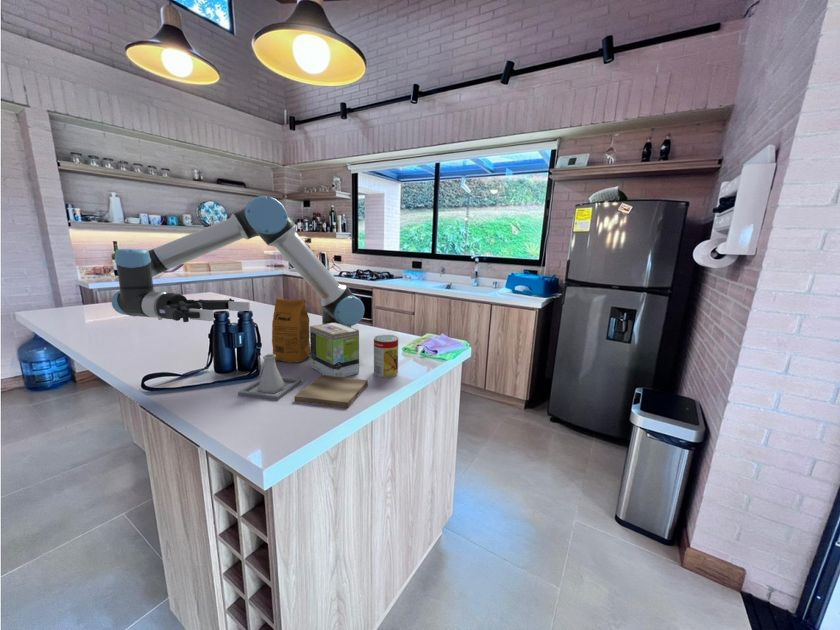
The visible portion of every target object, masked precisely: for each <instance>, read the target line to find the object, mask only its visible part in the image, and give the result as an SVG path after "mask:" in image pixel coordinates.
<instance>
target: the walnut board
mask: <svg viewBox="0 0 840 630" xmlns="http://www.w3.org/2000/svg"><path fill="white" fill-rule="evenodd" d="M368 384H369V380H368V379H359V378H351V377H334V376H326V375H324V374H322V375H321V374H320V375H319V376H318V377H317V378H316V379H314V380H313V381H312V382H311V383H310V384H308V385H307V386H306V387H304V388H302V390H300V391H299V392H298V393H297V394H295V395H294V402H296V403H305V404H311V405H320V406H330V407H336V408H337V407H338V408H347V409H348V408H350V407H351V405H352V404H353V403H354V402H355V401H356V400H357V398H358V397H359V396H360V395H359V394H361V393H362V392H363V391H364V390H365V389H366V388H367V386H368ZM365 387H366V388H365ZM364 388H365V389H364ZM363 389H364V390H363ZM358 395H359V396H358Z"/></svg>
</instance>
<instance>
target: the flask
mask: <svg viewBox="0 0 840 630" xmlns="http://www.w3.org/2000/svg"><path fill="white" fill-rule="evenodd" d="M275 357H276V355H275V354H273V353H268V354H264V355H263V356H262V359H263V360H264V362H263V363H264V365H263V371H262V373H261V378H260V379H261V380H260V383H259V385H258V386H257V390H256V392H257V393H266V394H276V393H278V392H281V391H283V390H284V389H285V387H286V382H284V381H283V379H282V376H281V374H280V372H279V370H278V368H277V367H278V366H277V364H276V361H275Z"/></svg>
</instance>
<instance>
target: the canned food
mask: <svg viewBox="0 0 840 630" xmlns="http://www.w3.org/2000/svg"><path fill="white" fill-rule="evenodd" d="M397 373H398V374H399V337H398V336H396V335H394V334H393V335H392V334H381V335H380V334H378V335H376V336H374V337H373V375H374V376H376V377H378V378H383V377H388V378H392V377H391V376H393V377H395V375H396V374H397ZM398 374H397V375H398ZM397 375H396V376H397Z"/></svg>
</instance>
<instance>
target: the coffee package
mask: <svg viewBox="0 0 840 630" xmlns="http://www.w3.org/2000/svg"><path fill="white" fill-rule="evenodd" d="M271 323H272V325H271V327H272V328H271V336H272V337H271V345H272V354H275V355H276V357H275V362H276V361H278V362H279V361H282V362H285V363H301V362H303V361H304V360H305V359H306V358H308V357H309V356H311V343H310V316H309V314H308V309H307V307H306V300H305V299H290V300H289V299H284V298H279V297H276V300H275V304H274V311H273V316H272V322H271Z"/></svg>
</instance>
